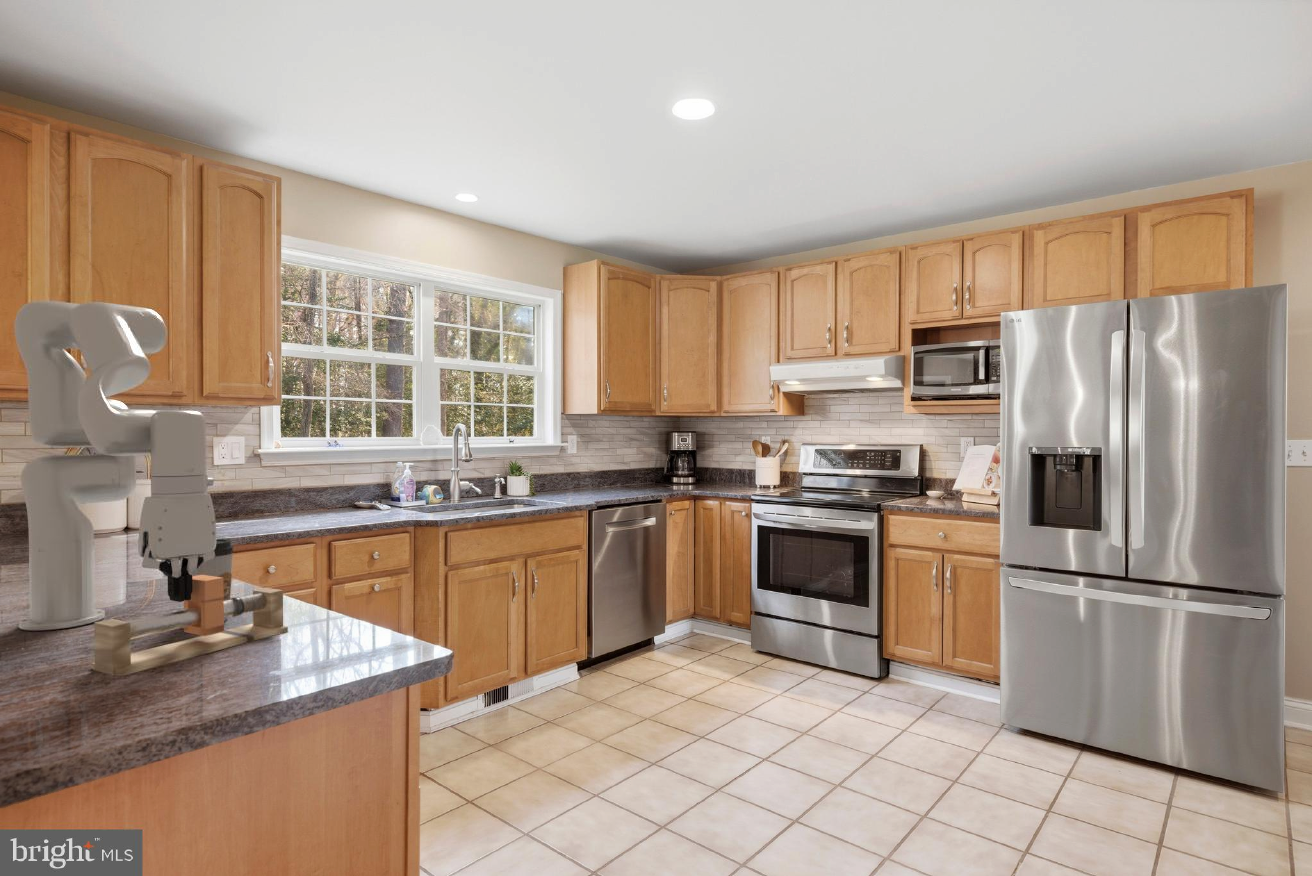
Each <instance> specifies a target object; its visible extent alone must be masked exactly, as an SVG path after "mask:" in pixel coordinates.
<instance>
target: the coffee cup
mask: <svg viewBox="0 0 1312 876" xmlns="http://www.w3.org/2000/svg"><path fill="white" fill-rule="evenodd" d="M233 548H234V546H233V545H232V542H231V539H222V538H221V539H220V538H219V539H217V538H216V547H215V549H214V552H215V557H214V558H213V559H210V560H208V561H205V562H202V564H201V565H200V566H199V567H198V568H197V569H196V573H195V574H194V575H192V576H197V575H208V576H215V577H222V578H223V588H224V601H226V600H229V599H231V593H232V591H231V590H232V578H233V577H232V576H233V575H232V568H233V555H234V552H235V551H234V549H233ZM227 620H228V617H225V618H224V622H225V621H227Z"/></svg>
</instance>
